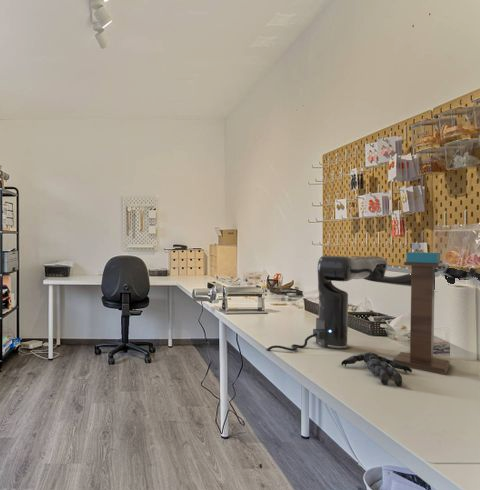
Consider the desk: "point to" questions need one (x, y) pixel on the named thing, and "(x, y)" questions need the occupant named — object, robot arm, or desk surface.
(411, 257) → the back pad
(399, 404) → the desk surface
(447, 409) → the desk surface
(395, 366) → the dark grey jointed piece
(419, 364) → the stand
